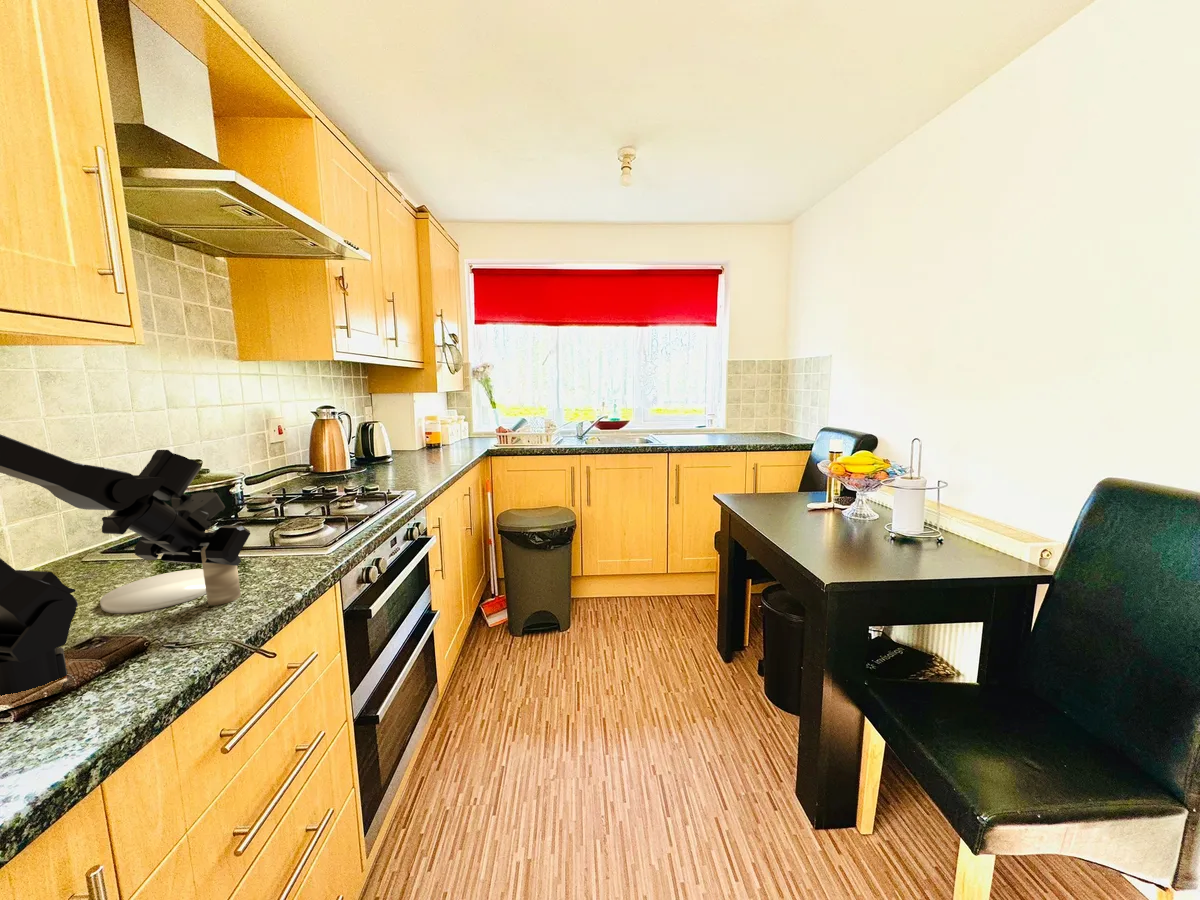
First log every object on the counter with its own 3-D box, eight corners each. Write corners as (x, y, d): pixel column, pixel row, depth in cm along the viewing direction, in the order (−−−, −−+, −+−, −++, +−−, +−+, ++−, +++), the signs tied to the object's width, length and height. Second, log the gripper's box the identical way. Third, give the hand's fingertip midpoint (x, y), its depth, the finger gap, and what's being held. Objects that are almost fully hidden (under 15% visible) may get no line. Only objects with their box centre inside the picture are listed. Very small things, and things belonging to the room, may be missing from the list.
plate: (104, 623, 85) (102, 616, 85) (98, 594, 97) (97, 588, 97) (232, 589, 98) (231, 584, 98) (213, 567, 110) (212, 562, 110)
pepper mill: (210, 607, 90) (201, 538, 89) (205, 599, 94) (196, 532, 92) (243, 598, 94) (235, 531, 92) (237, 591, 97) (229, 526, 96)
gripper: (234, 481, 85) (290, 525, 98) (142, 480, 88) (208, 523, 101) (196, 541, 79) (262, 580, 91) (98, 537, 82) (174, 576, 94)
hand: (226, 562), depth 94 cm, fingers closed on pepper mill, 5 cm apart
